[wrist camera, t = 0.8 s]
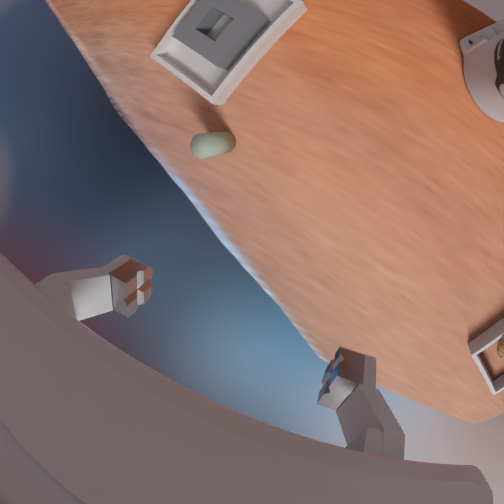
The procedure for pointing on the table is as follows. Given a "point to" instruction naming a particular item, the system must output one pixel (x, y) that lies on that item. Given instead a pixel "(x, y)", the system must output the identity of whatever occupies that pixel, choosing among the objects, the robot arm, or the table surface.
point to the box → (223, 41)
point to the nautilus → (501, 348)
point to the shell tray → (481, 344)
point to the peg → (212, 144)
